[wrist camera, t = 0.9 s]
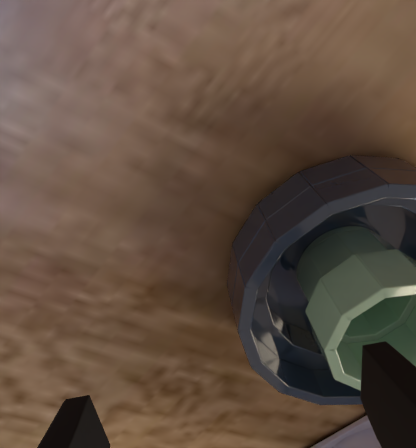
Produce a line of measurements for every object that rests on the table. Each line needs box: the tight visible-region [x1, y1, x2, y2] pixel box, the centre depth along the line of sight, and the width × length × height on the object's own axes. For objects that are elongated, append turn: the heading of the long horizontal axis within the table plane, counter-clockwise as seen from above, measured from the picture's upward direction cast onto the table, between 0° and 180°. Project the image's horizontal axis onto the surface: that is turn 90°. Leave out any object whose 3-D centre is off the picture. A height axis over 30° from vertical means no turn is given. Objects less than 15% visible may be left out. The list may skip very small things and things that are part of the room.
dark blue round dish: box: [227, 155, 416, 405], centre depth 20 cm, size 12×12×4 cm
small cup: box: [297, 226, 416, 391], centre depth 18 cm, size 6×6×6 cm
